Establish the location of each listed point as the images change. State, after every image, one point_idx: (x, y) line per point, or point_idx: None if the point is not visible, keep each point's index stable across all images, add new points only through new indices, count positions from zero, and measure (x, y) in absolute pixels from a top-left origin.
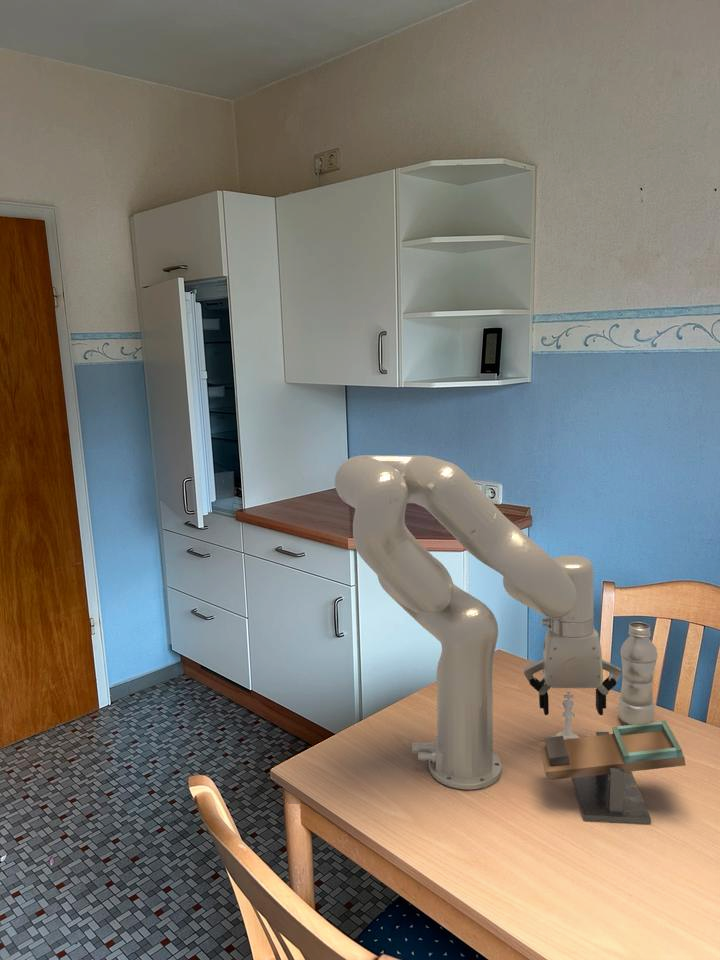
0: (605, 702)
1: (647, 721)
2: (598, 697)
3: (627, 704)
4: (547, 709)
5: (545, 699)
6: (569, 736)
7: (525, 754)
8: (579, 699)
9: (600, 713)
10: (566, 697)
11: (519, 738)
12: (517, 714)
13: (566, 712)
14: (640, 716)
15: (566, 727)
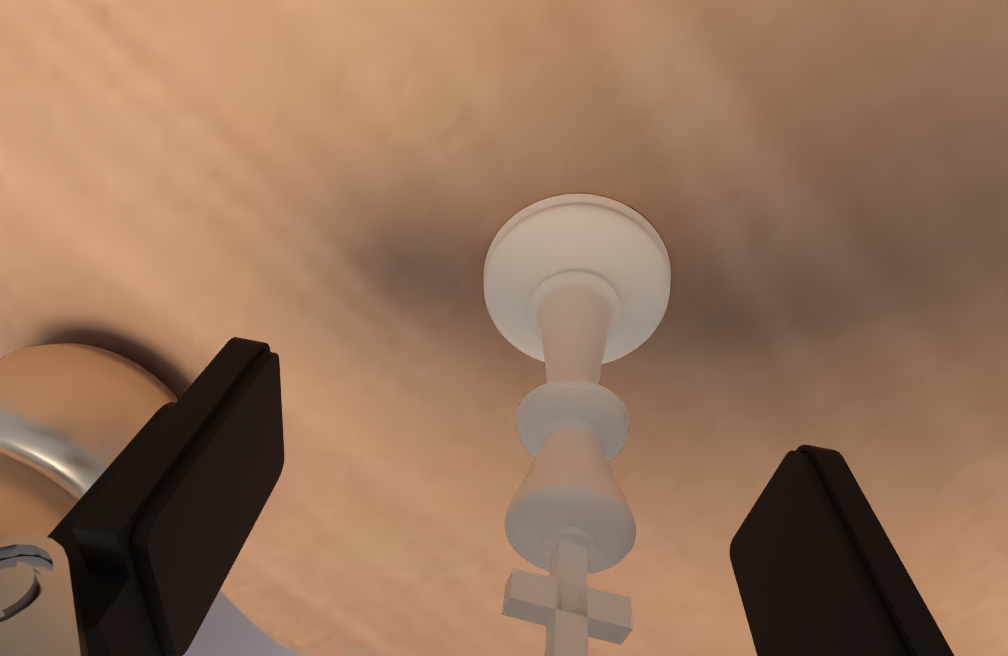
0: (129, 451)
1: (11, 356)
2: (172, 521)
3: (65, 477)
4: (834, 492)
5: (926, 622)
6: (577, 281)
7: (977, 181)
8: (369, 588)
9: (253, 351)
10: (600, 601)
11: (876, 369)
12: None
13: (596, 440)
14: (22, 382)
15: (594, 338)
